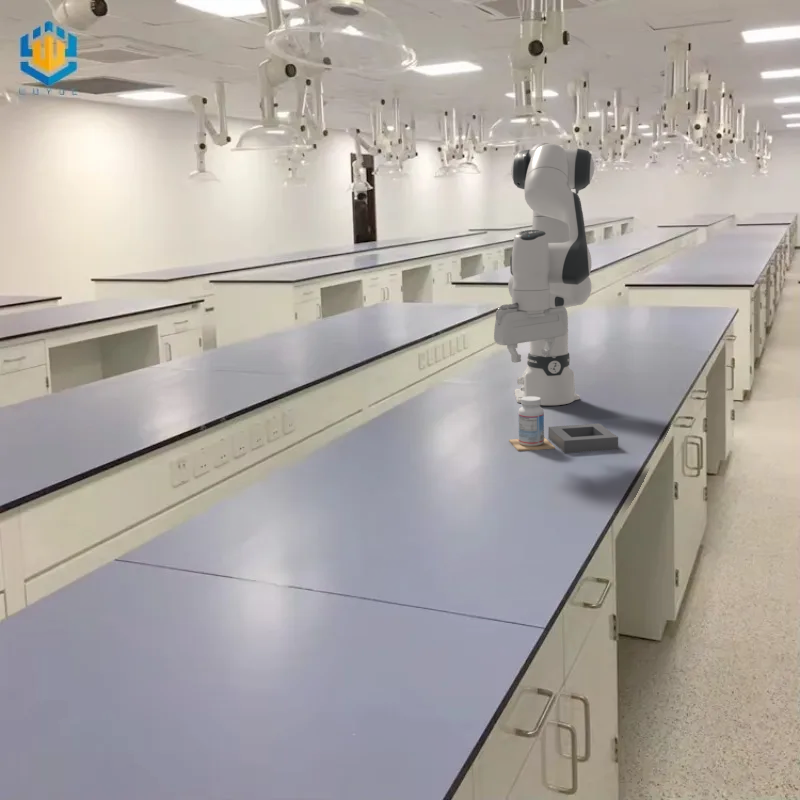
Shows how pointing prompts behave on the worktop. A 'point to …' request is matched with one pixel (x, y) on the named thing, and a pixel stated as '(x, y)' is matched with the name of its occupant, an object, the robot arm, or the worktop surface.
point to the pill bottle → (531, 422)
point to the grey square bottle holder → (582, 438)
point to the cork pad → (526, 448)
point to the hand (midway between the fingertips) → (531, 359)
